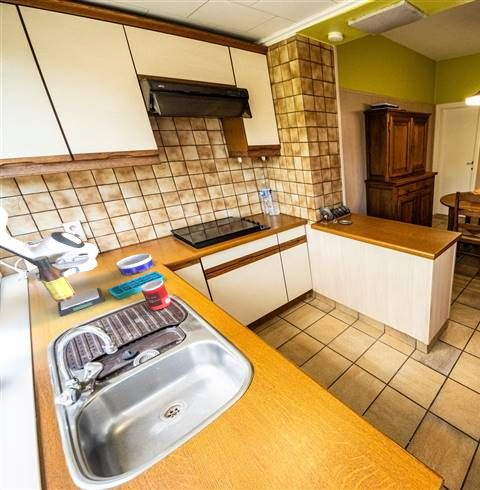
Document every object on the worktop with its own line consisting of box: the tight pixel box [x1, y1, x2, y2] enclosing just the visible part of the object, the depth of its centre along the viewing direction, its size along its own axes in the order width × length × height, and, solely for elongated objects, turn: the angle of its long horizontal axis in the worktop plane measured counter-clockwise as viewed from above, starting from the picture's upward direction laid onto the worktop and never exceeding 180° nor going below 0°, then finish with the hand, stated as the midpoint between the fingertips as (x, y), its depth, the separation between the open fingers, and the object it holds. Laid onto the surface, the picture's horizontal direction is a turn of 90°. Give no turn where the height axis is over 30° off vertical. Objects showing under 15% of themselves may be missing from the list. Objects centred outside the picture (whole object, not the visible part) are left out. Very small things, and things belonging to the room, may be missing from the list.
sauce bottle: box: [32, 256, 76, 303], centre depth 108 cm, size 6×6×20 cm
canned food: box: [141, 280, 172, 312], centre depth 114 cm, size 8×8×11 cm
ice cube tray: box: [107, 270, 165, 300], centre depth 131 cm, size 12×20×3 cm, turn 147°
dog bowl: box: [115, 253, 155, 276], centre depth 150 cm, size 15×15×6 cm
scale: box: [57, 287, 105, 317], centre depth 121 cm, size 14×13×3 cm
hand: (50, 277), depth 107 cm, fingers closed on sauce bottle, 6 cm apart
